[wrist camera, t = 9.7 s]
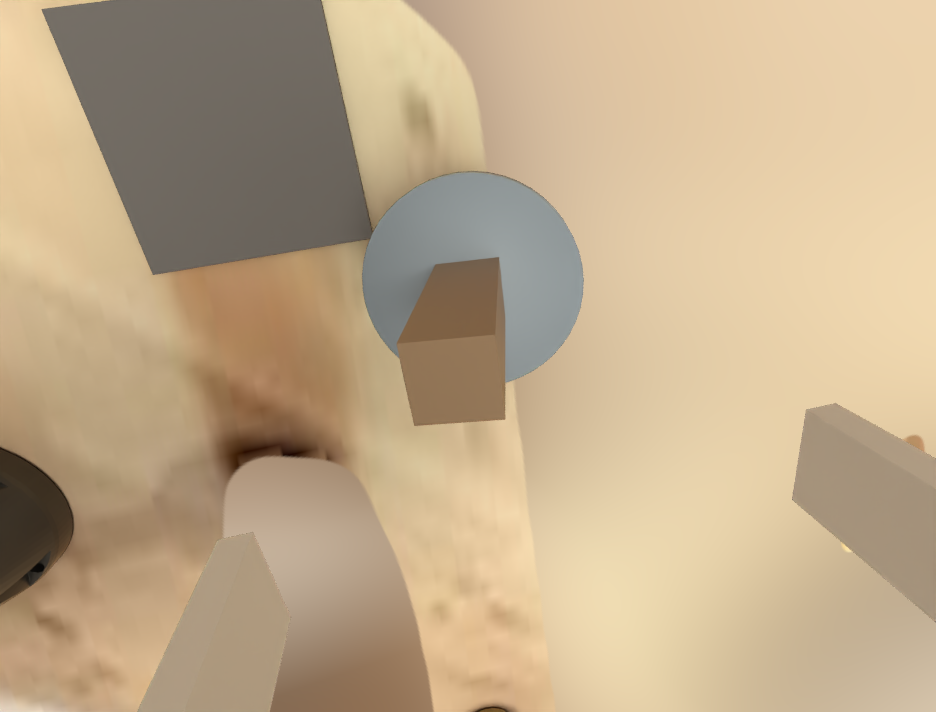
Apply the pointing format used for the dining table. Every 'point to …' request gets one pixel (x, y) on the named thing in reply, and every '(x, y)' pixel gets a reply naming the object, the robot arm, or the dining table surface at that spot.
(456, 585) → the dining table surface
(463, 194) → the lid
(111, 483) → the dining table surface
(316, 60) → the mat
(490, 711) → the squeeze bottle
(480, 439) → the dining table surface
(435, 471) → the dining table surface
